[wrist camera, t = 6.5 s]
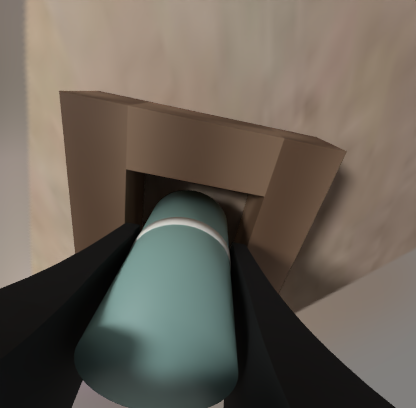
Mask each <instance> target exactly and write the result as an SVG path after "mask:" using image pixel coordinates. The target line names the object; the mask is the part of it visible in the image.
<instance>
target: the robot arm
mask: <svg viewBox="0 0 416 408" xmlns="http://www.w3.org/2000/svg"><path fill="white" fill-rule="evenodd" d="M139 234H140V225H138V224H133V223H127V222H126V223H125V224H123V225H121V226H120V227H118V228H117V229H115V230H114V231H112V232H110V233H109V234H107V235H106V236H104V237H103V238H101V239H100V240H98V241H96V242H95V243H93V244H91V245H90V246H88V247H87V248H85V249H83V250H81V251H80V252H78V253H76V254H74V255H72V256H71V257H69V258H67V259H65V260H63V261H61V262H60V263H58V264H56V265H54V266H52V267H50V268H47V269H45V270H43V271H41V272H39V273H37V274H34V275H32V276H30V277H28V278H25V279H23V280H21V281H18V282H16V283H13V284H11V285H8V286H6V287H3V288H1V289H0V408H72V405H73V403H74V400H75V398H76V395H77V393H78V390H79V388H80V385H81V383H82V381H83V379H82V378H81V376H80V375H79V373H78V371H77V369H76V367H75V362H74V353H75V348H76V346H77V344H78V342H79V341H80V339H81V337H82V335H83V333H84V332H85V330H86V328H87V326H88V325H89V323H90V321H91V319H92V318H93V316H94V314H95V312H96V310H97V309H98V307H99V305H100V303H101V302H102V300H103V298H104V296H105V295H106V293H107V291H108V289H109V287H110V286H111V284H112V282H113V280H114V279H115V277H116V275H117V273H118V272H119V270H120V268H121V266H122V264H123V263H124V261H125V259H126V257H127V256H128V254H129V252H130V250H131V247H132V245H133V243H134V242H135V240H136V238H137V236H138V235H139ZM229 252H230V260H231V283H232V296H233V309H234V322H235V335H236V348H237V362H238V380H237V383H236V386H235V388H234V389H233V391H232V392H231V393H230V394H229V395H228V396H227V397H226V398H225V399H224V408H395V407H394V406H393V405H392V404H390V403H389V402H388V401H387V400H385V399H384V398H383V397H382V396H380V395H379V394H378V393H377V392H375V391H374V390H373V389H372V388H371V387H369V386H368V385H367V384H366V383H365V382H364V381H362V380H361V379H360V378H359V377H358V376H357V375H356V374H355V373H353V372H352V371H351V370H350V369H349V368H348V367H347V366H345V365H344V364H343V363H342V362H341V361H340V360H339V359H338V358H337V357H336V356H335V355H334V354H333V353H331V352H330V351H329V350H328V349H327V348H326V347H325V346H324V345H323V344H322V343H321V342H320V341H319V340H318V339H317V338H316V337H315V336H314V335H313V334H312V332H311V331H310V330H309V329H308V328H307V327H306V326H305V325H304V324H303V323H302V322H301V321H300V319H299V318H298V317H297V316H296V315H295V314H294V313H293V311H292V310H291V309H290V308H289V307H288V306H287V304H286V303H285V302H284V301H283V299H282V298H281V297H280V295H279V294H278V293H277V291H276V290H275V289H274V287H273V286H272V285H271V283H270V282H269V280H268V279H267V277H266V276H265V274H264V273H263V272H262V270H261V268H260V267H259V265H258V264H257V262H256V261H255V259H254V257H253V256H252V254H251V252H250V251H249V249H248V248H247V246H246V245H245V244H240V243H235V242H232V244H231V248H230V251H229Z"/></svg>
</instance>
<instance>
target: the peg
mask: <svg viewBox="0 0 416 408" xmlns="http://www.w3.org/2000/svg"><path fill="white" fill-rule="evenodd" d="M74 362H75V367H76V369H77V371H78V373H79V375H80V376H81V378H82V379H83V381H84V382H85V383H86V384H87V385H88V386H89V387H91V388H92V389H93V390H94V391H95V392H97V393H98V394H100V395H101V396H103V397H105V398H107V399H108V400H110V401H113V402H115V403H117V404H120V405H122V406H125V407H128V408H208V407H211V406H213V405H215V404H217V403H219V402H221V401H222V400H224V399H225V398H226V397H227V396H228V395H229V394H230V393H231V392H232V391H233V389H234V388H235V386H236V383H237V380H238V362H237V348H236V335H235V322H234V309H233V296H232V283H231V260H230V252H229V244H228V230H227V220H226V216H225V213H224V211H223V209H222V208H221V206H220V205H219V204H218V203H217V202H216V201H215V200H214V199H212V198H211V197H209V196H208V195H206V194H203V193H201V192H197V191H191V190H183V191H177V192H173V193H171V194H169V195H167V196H165V197H164V198H162V199H161V200H160V201H159V202H158V203H157V205H156V206H155V208H154V210H153V211H152V213H151V215H150V217H149V219H148V220H147V222H146V224H145V226H144V227H143V229H142V231H141V232H140V234H139V235H138V236H137V238H136V240H135V242H134V243H133V245H132V247H131V250H130V252H129V254H128V256H127V257H126V259H125V261H124V263H123V264H122V266H121V268H120V270H119V272H118V273H117V275H116V277H115V279H114V280H113V282H112V284H111V286H110V287H109V289H108V291H107V293H106V295H105V296H104V298H103V300H102V302H101V303H100V305H99V307H98V309H97V310H96V312H95V314H94V316H93V318H92V319H91V321H90V323H89V325H88V326H87V328H86V330H85V332H84V333H83V335H82V337H81V339H80V341H79V342H78V344H77V346H76V348H75V353H74Z"/></svg>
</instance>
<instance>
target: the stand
mask: <svg viewBox="0 0 416 408" xmlns="http://www.w3.org/2000/svg"><path fill="white" fill-rule="evenodd" d="M59 94H60V104H61V114H62V124H63V134H64V144H65V154H66V165H67V175H68V185H69V195H70V205H71V215H72V225H73V236H74V246H75V254H76V253H78V252H80V251H81V250H83V249H85V248H87V247H88V246H90V245H91V244H93V243H95V242H96V241H98V240H100V239H101V238H103V237H104V236H106V235H107V234H109V233H110V232H112V231H114V230H115V229H117V228H118V227H120V226H121V225H123V224H125V223H126V222H127V223H133V224H138V225H140V232H141V227H142V213H143V198H144V184H145V173H147V174H152V175H158V176H163V177H168V178H173V179H178V180H183V181H188V182H193V183H198V184H203V185H208V186H213V187H218V188H224V189H229V190H234V191H239V192H244V193H249V194H248V198H247V201H246V204H245V207H244V211H243V214H242V217H241V221H240V224H239V227H238V230H237V234H236V237H235V240H234V242H235V243H240V244H245V245H246V246H247V248H248V249H249V251H250V252H251V254H252V256H253V257H254V259H255V261H256V262H257V264H258V265H259V267H260V268H261V270H262V272H263V273H264V274H265V276H266V277H267V279H268V280H269V282H270V283H271V285H272V286H273V287H274V289H275V290H276V291H277V293H278V294H279V292H280V290H281V288H282V286H283V284H284V282H285V279H286V277H287V275H288V273H289V271H290V269H291V267H292V265H293V263H294V261H295V259H296V257H297V254H298V252H299V250H300V248H301V246H302V244H303V242H304V240H305V238H306V236H307V234H308V232H309V229H310V227H311V225H312V223H313V221H314V219H315V217H316V215H317V213H318V211H319V209H320V206H321V204H322V202H323V200H324V198H325V196H326V194H327V192H328V190H329V188H330V186H331V184H332V181H333V179H334V177H335V175H336V173H337V171H338V169H339V167H340V165H341V163H342V161H343V158H344V156H345V154H346V152H347V151H344V150H342V149H340V148H338V147H336V146H334V145H332V144H330V143H328V142H325V141H323V140H321V139H319V138H317V137H313V136H308V135H303V134H299V133H294V132H289V131H284V130H280V129H275V128H270V127H266V126H261V125H256V124H251V123H247V122H242V121H237V120H233V119H228V118H223V117H218V116H214V115H209V114H204V113H200V112H195V111H190V110H186V109H181V108H176V107H171V106H167V105H162V104H157V103H153V102H148V101H143V100H138V99H134V98H129V97H124V96H120V95H115V94H110V93H105V92H101V91H59Z"/></svg>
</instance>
